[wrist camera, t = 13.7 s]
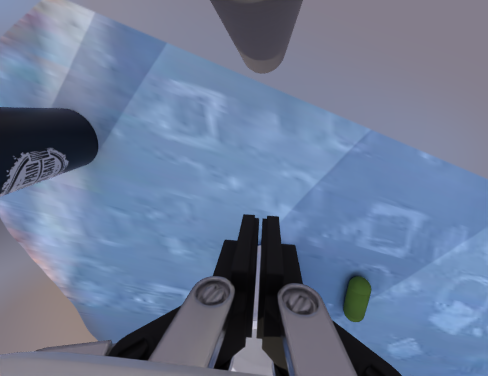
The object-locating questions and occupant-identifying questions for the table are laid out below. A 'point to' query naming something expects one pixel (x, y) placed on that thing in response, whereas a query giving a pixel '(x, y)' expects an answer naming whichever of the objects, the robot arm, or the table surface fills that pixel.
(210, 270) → the table surface
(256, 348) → the jar
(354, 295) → the pickle
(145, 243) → the table surface
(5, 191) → the water bottle
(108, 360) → the robot arm
